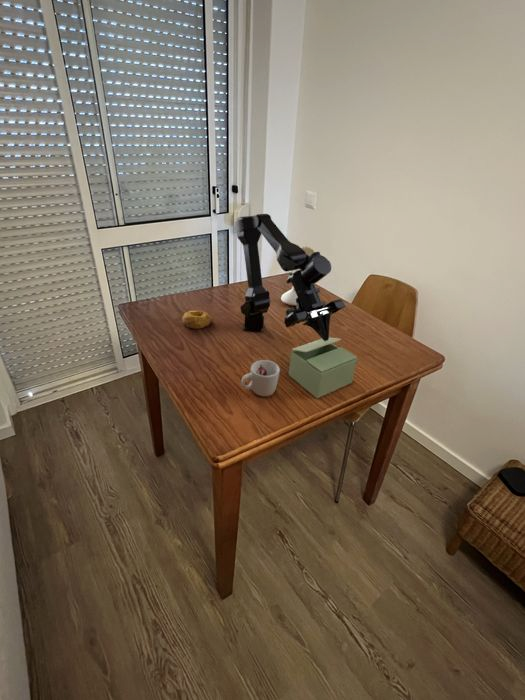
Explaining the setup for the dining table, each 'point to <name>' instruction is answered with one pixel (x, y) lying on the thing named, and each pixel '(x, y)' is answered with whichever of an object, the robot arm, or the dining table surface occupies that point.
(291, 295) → the flower in vase
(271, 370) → the cup
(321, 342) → the flap
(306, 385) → the carton
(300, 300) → the robot arm
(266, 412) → the dining table surface
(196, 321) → the bagel
